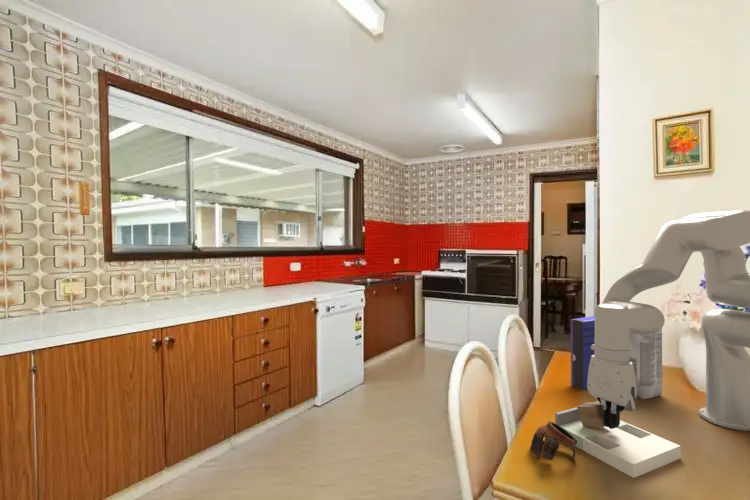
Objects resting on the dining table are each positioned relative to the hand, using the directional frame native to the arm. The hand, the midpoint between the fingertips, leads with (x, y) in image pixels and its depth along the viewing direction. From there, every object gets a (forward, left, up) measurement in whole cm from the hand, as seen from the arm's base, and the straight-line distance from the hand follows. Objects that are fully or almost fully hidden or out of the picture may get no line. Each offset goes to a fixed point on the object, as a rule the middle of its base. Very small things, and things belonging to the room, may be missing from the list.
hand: (611, 426), depth 94 cm
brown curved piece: (+17, -3, -5) cm, 18 cm away
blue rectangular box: (-34, -30, -5) cm, 46 cm away
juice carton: (-40, -17, -5) cm, 44 cm away
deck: (0, 0, -5) cm, 5 cm away
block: (0, -3, -1) cm, 4 cm away
